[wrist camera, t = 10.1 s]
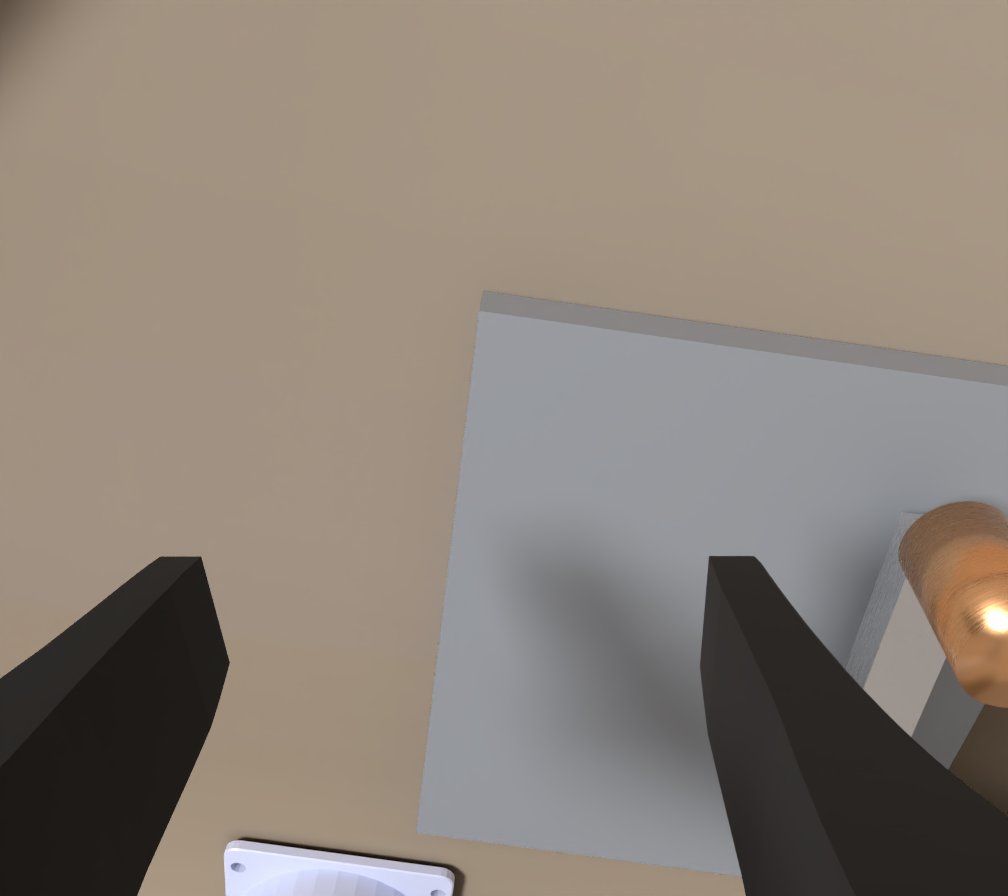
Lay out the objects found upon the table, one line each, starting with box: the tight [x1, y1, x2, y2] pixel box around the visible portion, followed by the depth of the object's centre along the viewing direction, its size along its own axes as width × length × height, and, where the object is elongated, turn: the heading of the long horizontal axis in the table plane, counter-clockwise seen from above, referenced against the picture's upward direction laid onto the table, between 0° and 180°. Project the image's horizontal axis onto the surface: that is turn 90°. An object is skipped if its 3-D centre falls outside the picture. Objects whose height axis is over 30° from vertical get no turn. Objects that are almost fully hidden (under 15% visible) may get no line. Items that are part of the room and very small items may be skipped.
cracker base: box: [416, 291, 1008, 877], centre depth 24 cm, size 18×20×4 cm
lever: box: [845, 501, 1008, 736], centre depth 22 cm, size 15×3×5 cm, turn 176°
